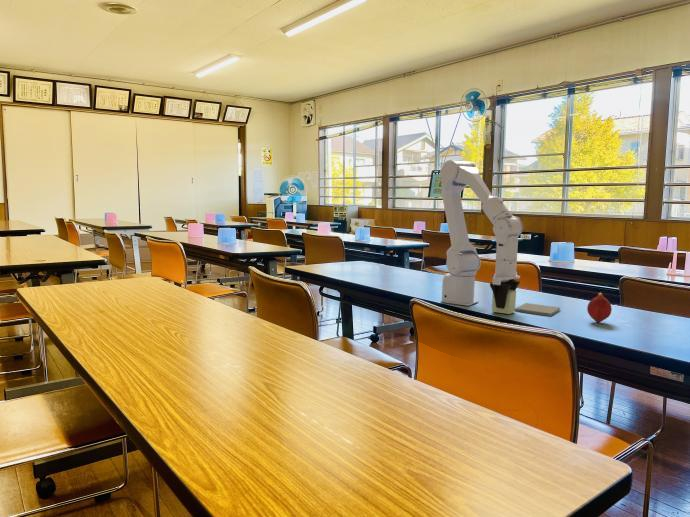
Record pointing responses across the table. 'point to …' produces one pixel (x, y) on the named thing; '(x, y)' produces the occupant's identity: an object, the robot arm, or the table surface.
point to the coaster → (537, 309)
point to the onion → (599, 308)
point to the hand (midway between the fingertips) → (503, 306)
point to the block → (509, 303)
